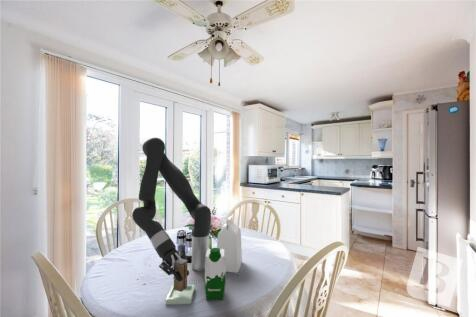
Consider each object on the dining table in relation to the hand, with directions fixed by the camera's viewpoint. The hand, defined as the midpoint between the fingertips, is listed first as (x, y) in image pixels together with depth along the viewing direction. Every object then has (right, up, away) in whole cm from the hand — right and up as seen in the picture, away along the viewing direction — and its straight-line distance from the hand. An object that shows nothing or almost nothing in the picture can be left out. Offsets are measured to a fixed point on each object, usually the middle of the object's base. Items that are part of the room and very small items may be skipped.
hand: (184, 277), depth 90 cm
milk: (+18, -9, +27) cm, 34 cm away
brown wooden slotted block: (-2, -5, +1) cm, 5 cm away
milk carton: (+13, -8, +2) cm, 15 cm away
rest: (-2, -8, +1) cm, 8 cm away
